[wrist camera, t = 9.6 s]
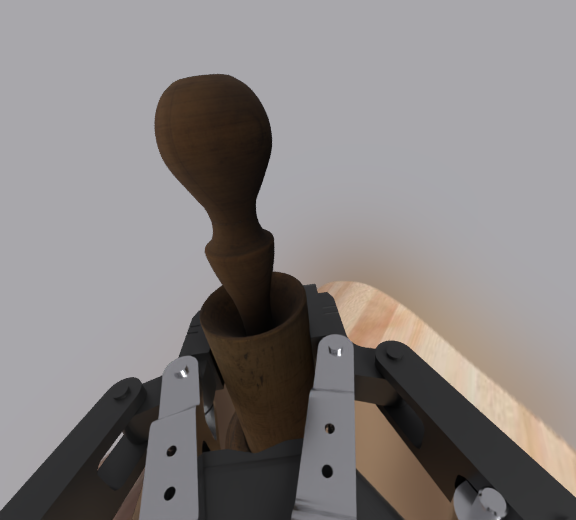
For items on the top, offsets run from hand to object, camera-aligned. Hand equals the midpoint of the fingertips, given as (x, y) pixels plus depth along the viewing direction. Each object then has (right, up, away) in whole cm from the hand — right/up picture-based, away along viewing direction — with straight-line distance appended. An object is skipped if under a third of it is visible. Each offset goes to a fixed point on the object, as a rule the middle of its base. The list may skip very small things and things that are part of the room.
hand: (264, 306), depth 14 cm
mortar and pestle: (+1, -9, +2) cm, 9 cm away
